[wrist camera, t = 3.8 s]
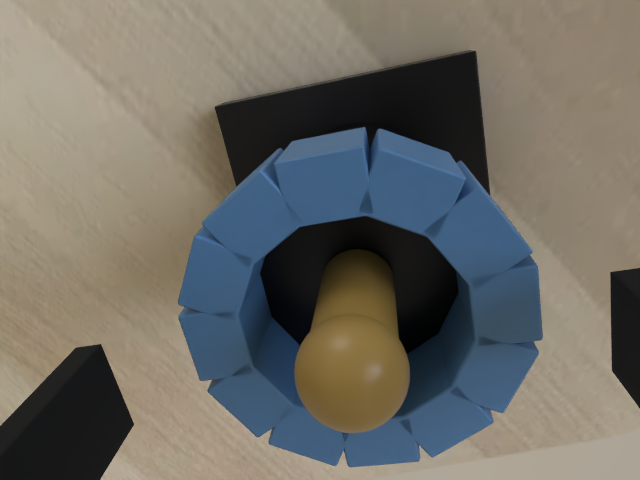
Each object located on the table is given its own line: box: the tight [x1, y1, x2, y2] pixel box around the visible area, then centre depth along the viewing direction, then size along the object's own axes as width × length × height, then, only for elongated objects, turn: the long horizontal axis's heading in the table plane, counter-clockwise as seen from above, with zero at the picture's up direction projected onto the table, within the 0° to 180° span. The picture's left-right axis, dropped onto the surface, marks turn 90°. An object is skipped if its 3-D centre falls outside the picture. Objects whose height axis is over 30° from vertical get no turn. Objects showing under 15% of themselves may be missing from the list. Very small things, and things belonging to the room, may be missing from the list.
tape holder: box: [215, 50, 490, 433], centre depth 19 cm, size 12×12×16 cm
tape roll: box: [178, 127, 543, 467], centre depth 16 cm, size 10×10×3 cm
